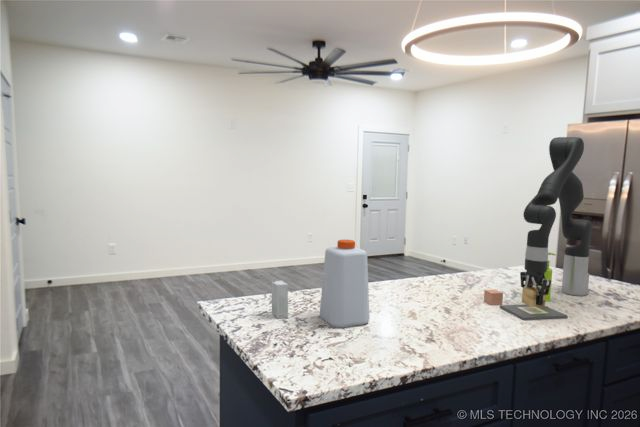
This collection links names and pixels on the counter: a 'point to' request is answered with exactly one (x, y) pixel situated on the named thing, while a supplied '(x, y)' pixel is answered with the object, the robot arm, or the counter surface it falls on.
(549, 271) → the soap dispenser
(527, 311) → the grey flat slab
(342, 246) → the plastic bottle
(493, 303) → the terracotta block
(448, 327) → the counter surface
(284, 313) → the skincare box
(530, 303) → the ochre block
